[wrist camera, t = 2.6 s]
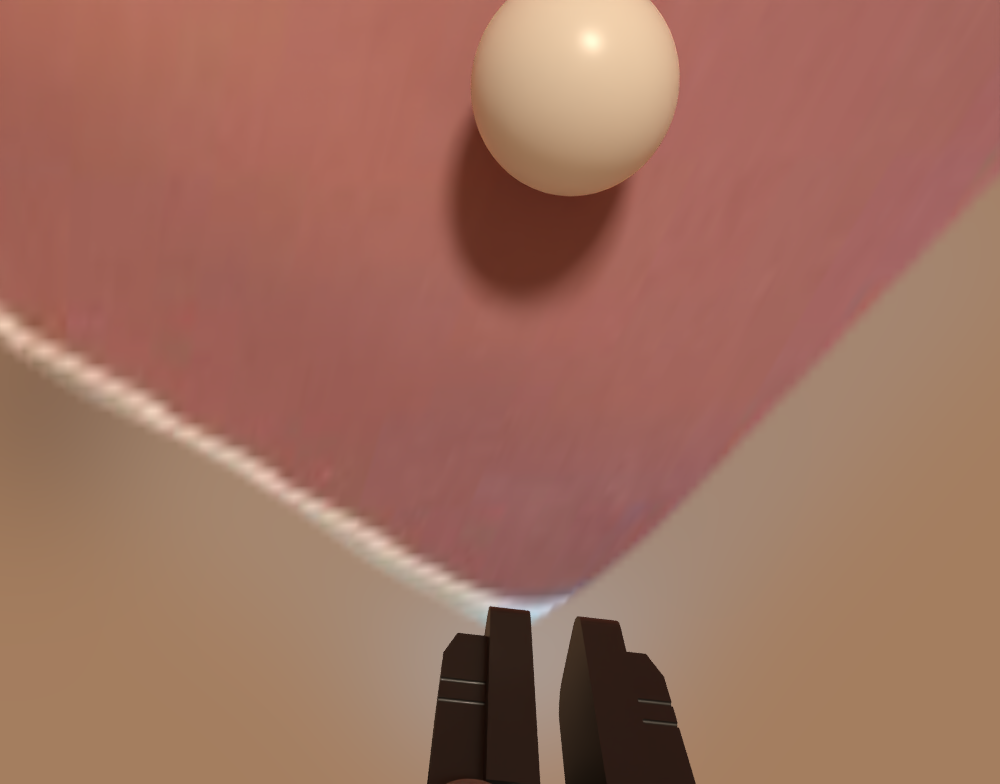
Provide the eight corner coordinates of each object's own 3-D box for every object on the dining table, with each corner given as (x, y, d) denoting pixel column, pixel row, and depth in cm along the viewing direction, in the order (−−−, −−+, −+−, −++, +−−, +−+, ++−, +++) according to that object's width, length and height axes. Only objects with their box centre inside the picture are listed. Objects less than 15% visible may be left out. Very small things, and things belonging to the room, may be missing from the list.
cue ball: (544, 224, 25) (557, 251, 19) (437, 76, 23) (416, 57, 17) (690, 113, 23) (749, 107, 18) (587, -52, 22) (617, -117, 16)
